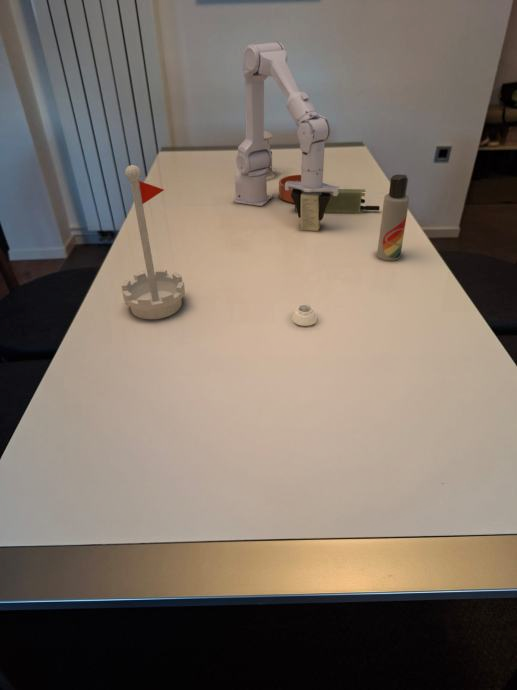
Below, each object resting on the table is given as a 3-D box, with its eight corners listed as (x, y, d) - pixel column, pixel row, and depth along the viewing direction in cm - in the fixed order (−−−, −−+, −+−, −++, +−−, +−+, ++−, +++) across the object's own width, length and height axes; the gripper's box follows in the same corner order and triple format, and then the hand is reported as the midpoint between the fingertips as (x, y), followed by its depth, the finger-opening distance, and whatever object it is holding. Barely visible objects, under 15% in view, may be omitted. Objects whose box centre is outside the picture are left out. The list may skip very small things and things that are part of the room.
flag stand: (128, 326, 102) (95, 180, 84) (124, 295, 112) (94, 159, 94) (190, 316, 104) (172, 172, 86) (181, 286, 114) (163, 152, 96)
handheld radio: (295, 209, 151) (378, 209, 148) (294, 213, 148) (379, 214, 146) (295, 187, 147) (381, 188, 144) (294, 191, 144) (382, 192, 142)
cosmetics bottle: (320, 225, 140) (322, 190, 134) (318, 231, 137) (319, 195, 131) (302, 223, 141) (303, 189, 135) (299, 230, 138) (300, 194, 132)
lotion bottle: (400, 262, 121) (413, 180, 109) (376, 260, 122) (387, 179, 110) (399, 251, 126) (412, 172, 114) (377, 250, 127) (386, 171, 115)
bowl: (272, 201, 156) (272, 185, 153) (287, 187, 166) (287, 172, 163) (312, 206, 152) (313, 190, 149) (325, 192, 162) (326, 177, 159)
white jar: (310, 311, 104) (288, 317, 103) (310, 299, 102) (288, 304, 101) (320, 324, 100) (298, 329, 99) (321, 311, 99) (298, 317, 97)
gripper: (281, 169, 129) (281, 219, 137) (334, 175, 124) (331, 226, 132) (290, 162, 134) (289, 210, 142) (342, 167, 129) (338, 217, 137)
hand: (310, 217), depth 137 cm, fingers closed on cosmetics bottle, 5 cm apart
